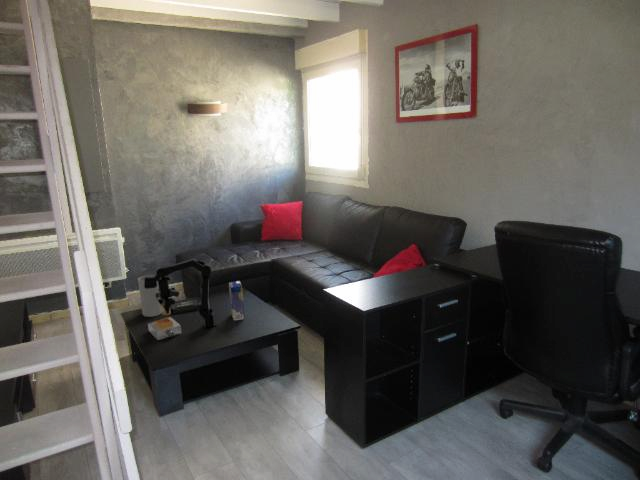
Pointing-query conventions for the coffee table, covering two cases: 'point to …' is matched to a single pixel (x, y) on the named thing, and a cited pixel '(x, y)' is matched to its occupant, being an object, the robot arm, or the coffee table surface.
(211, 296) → the coffee table surface
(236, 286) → the beverage box
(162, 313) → the brass can
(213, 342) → the coffee table surface
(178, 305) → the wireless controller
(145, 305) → the cylinder vase
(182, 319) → the coffee table surface
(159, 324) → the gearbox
